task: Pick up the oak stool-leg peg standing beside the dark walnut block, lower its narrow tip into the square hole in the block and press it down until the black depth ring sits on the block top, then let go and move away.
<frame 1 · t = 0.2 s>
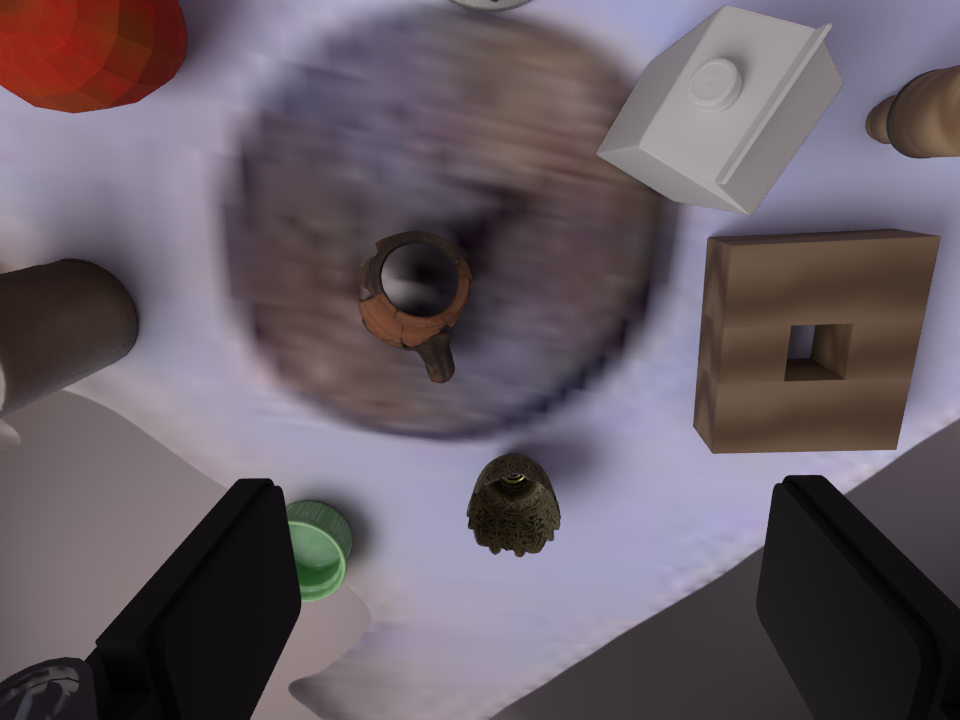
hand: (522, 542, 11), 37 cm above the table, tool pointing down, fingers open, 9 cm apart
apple: (147, 35, 41), on the table
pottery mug: (422, 300, 47), on the table
ramekin: (314, 532, 55), on the table
walnut block: (786, 334, 46), on the table
pillar candle: (86, 314, 49), on the table
milk carton: (660, 134, 42), on the table
oak peg: (884, 121, 41), on the table
dark rounded textured piece: (513, 466, 52), on the table
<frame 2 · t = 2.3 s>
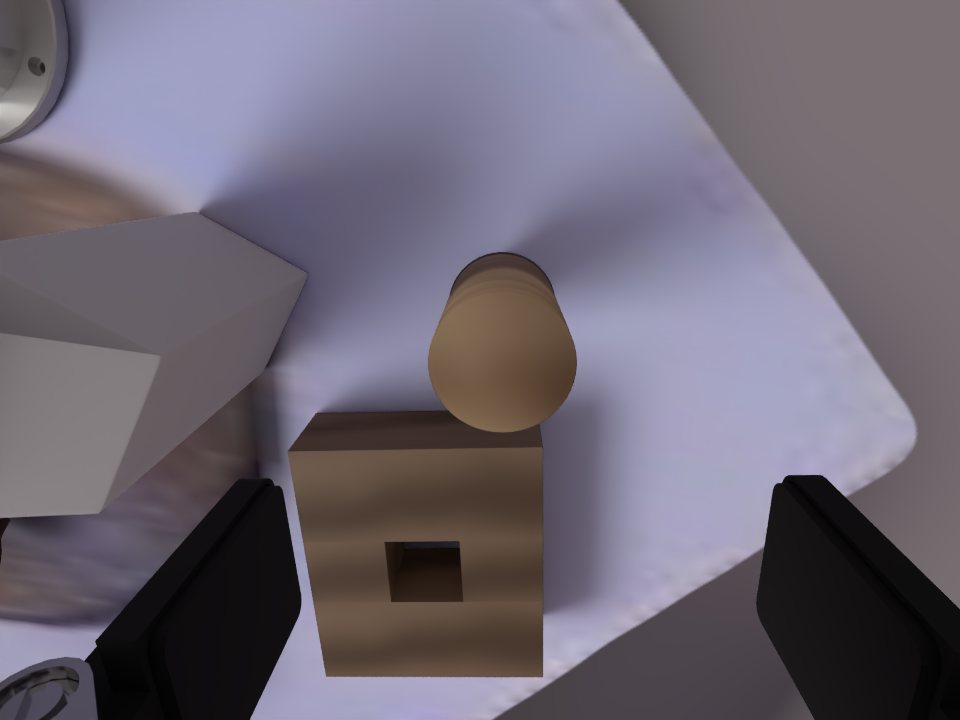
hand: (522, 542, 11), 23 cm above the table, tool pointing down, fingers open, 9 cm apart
walnut block: (434, 521, 38), on the table
milk carton: (233, 293, 33), on the table
oak peg: (501, 286, 32), on the table
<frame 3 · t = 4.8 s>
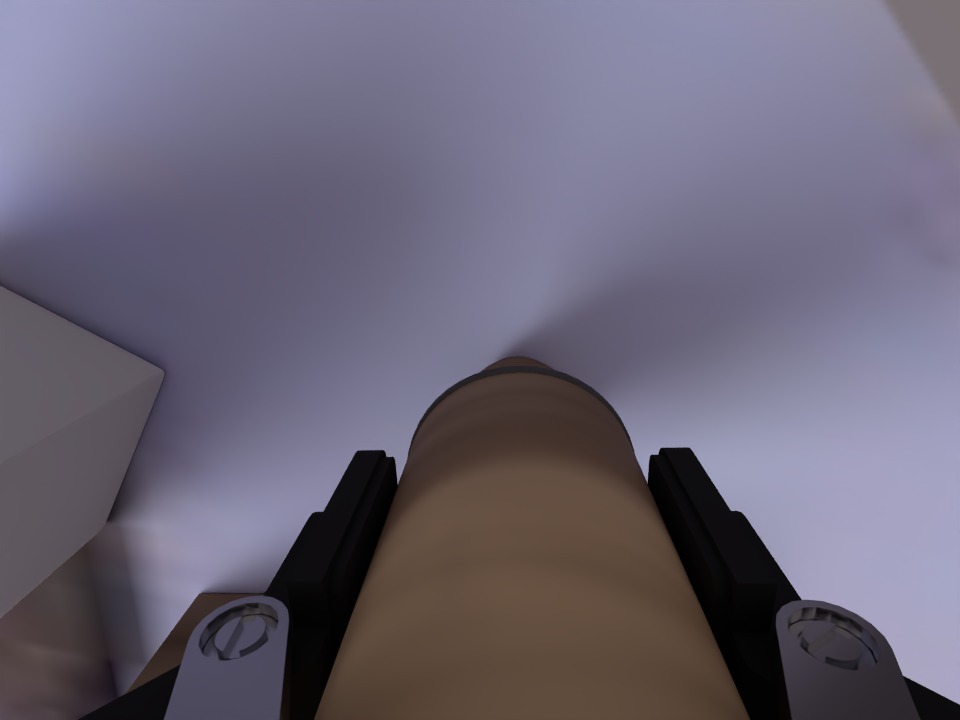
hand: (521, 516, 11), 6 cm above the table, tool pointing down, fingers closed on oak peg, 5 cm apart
milk carton: (41, 400, 19), on the table
oak peg: (517, 395, 18), on the table, touching gripper
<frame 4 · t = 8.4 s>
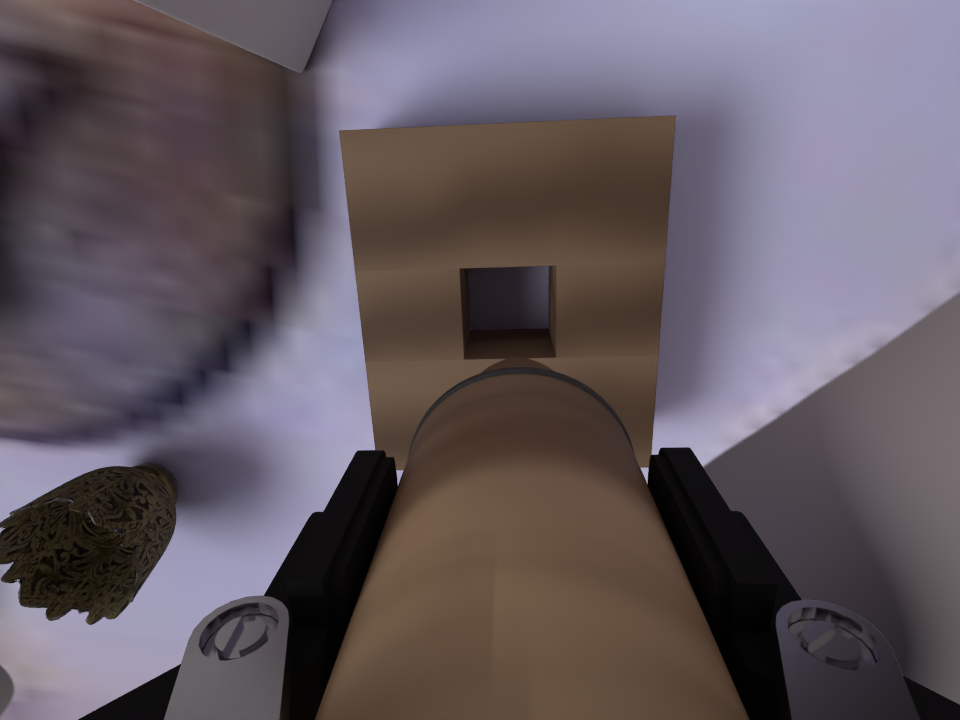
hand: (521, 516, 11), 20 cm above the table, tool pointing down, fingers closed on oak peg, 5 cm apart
walnut block: (508, 291, 31), on the table
oak peg: (517, 396, 18), point 14 cm above the table, touching gripper
dark rounded textured piece: (157, 482, 36), on the table
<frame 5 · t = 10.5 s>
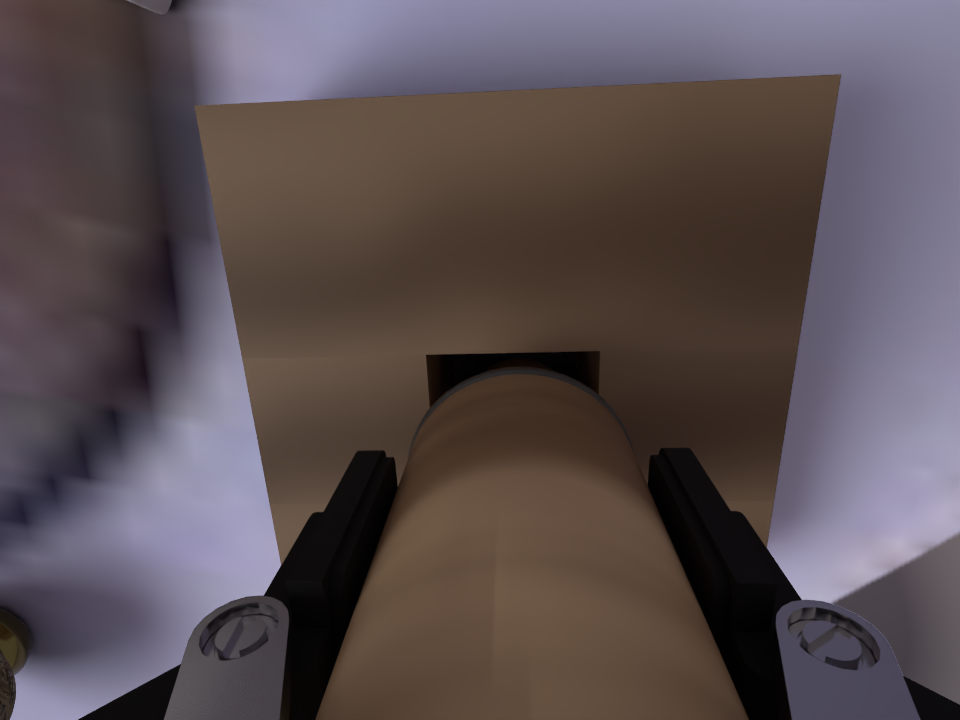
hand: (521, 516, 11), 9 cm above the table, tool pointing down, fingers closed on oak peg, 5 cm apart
walnut block: (512, 367, 19), on the table
oak peg: (517, 396, 18), point 2 cm above the table, touching gripper
dark rounded textured piece: (3, 627, 25), on the table
when the fingers open (7 cm above the table, at t = 12.1 s): oak peg stays where it is, resting on walnut block.
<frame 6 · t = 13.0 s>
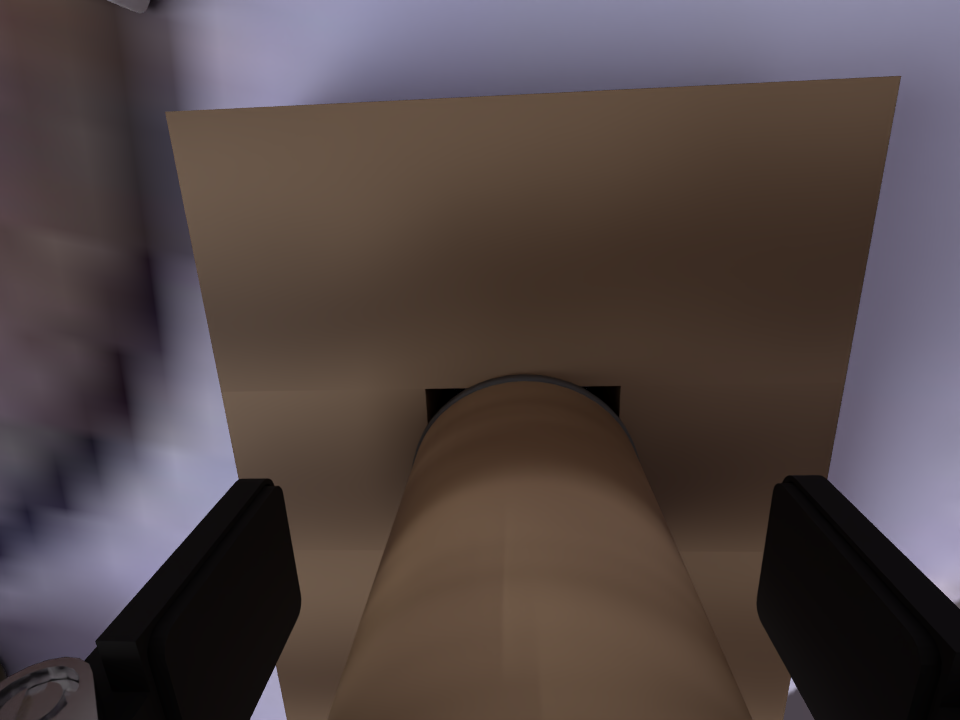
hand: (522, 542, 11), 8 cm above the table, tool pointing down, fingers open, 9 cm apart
walnut block: (520, 394, 18), on the table
oak peg: (521, 402, 17), resting on walnut block
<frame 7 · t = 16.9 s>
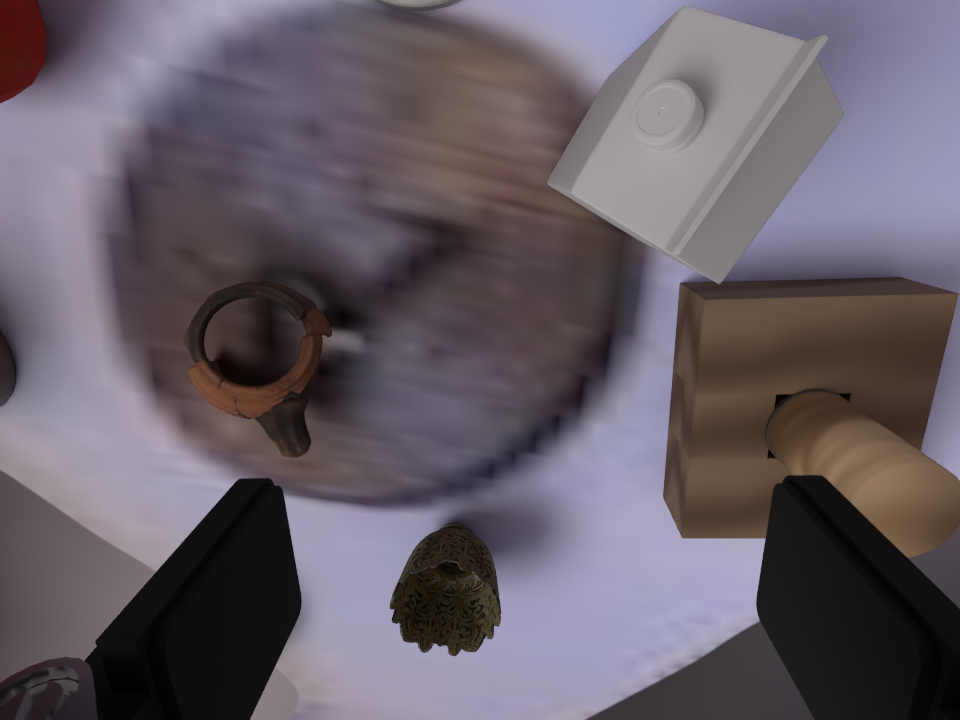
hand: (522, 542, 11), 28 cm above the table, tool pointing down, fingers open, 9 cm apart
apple: (7, 32, 34), on the table
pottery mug: (282, 357, 40), on the table
walnut block: (772, 395, 39), on the table
milk carton: (623, 161, 35), on the table
oak peg: (775, 399, 39), resting on walnut block
dark rounded textured piece: (456, 537, 45), on the table
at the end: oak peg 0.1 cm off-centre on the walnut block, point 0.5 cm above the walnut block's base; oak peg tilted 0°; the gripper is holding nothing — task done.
